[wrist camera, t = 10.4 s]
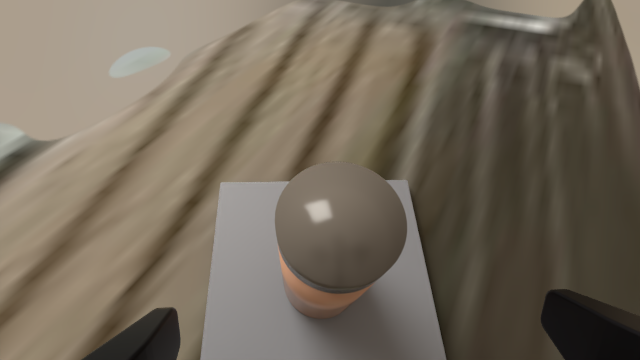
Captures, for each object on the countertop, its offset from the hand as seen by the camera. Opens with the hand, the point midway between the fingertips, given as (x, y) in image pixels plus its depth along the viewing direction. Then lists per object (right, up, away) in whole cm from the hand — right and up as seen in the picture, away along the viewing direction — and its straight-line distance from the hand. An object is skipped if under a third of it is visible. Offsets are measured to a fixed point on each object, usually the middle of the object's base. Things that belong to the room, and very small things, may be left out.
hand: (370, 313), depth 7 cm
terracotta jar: (-1, -3, +12) cm, 13 cm away
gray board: (-1, -3, +13) cm, 14 cm away
